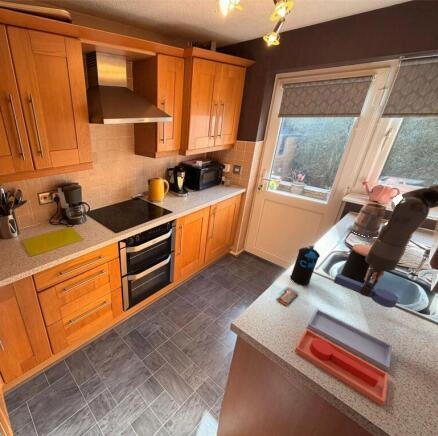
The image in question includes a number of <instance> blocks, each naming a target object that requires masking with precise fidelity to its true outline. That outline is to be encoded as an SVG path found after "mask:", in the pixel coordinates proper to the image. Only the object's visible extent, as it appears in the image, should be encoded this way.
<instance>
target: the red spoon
mask: <svg viewBox="0 0 438 436" xmlns="http://www.w3.org/2000/svg"><path fill="white" fill-rule="evenodd" d="M310 351H311V353H312V354H313V355H314V356H315V357H317V358H319V359H321V360H324V361H328V360H330V361H331V362H332V363H334V364H336V365H337V366H339V367H341V368H343V369H344V370H346V371H348V372H349V373H351V374H353V375H354V376H356V377H358V378H359V379H361V380H363V381H364V382H366V383H368V384H369V385H371V386H373V387H375V386H376V384H377V383H378V381H379V375H377V374H375V373H374V372H372V371H370V370H368V369H366V368H365V367H363V366H361V365H359V364H358V363H356V362H354V361H352V360H351V359H349V358H347V357H345V356H344V355H342V354H340V353H338V352H336V351H335V350H333V348H332V346H331V345H330V344H329V343H327V342H326V341H324V340H322V339H318V338H316V339H313V340H312V342H311V345H310ZM330 358H331V359H330Z"/></svg>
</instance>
